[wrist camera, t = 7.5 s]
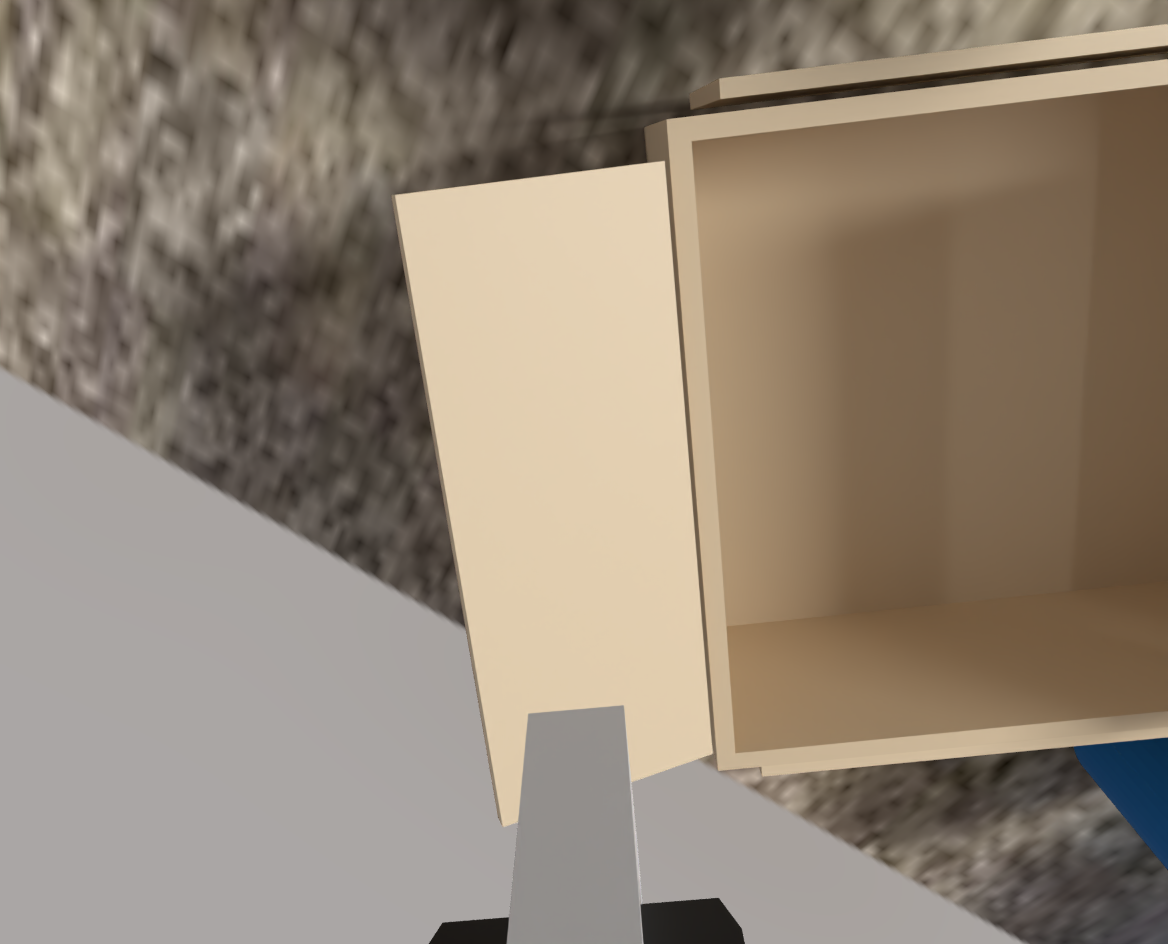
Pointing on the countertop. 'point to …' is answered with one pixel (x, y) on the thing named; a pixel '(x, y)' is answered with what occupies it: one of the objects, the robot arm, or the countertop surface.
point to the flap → (563, 454)
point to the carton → (928, 403)
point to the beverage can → (1134, 785)
